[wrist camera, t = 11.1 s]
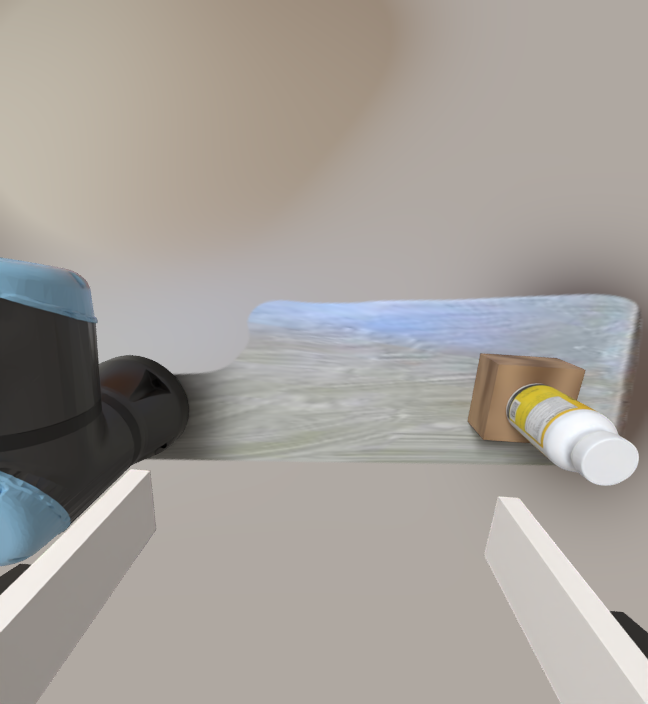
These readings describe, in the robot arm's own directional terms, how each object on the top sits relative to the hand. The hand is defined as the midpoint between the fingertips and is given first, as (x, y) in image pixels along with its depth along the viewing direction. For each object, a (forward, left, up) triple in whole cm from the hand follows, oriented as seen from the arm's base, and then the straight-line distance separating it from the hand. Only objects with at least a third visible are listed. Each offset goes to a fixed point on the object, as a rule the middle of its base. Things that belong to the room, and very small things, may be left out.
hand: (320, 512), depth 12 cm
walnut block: (+25, -6, -31) cm, 40 cm away
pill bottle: (+24, -6, -27) cm, 37 cm away
